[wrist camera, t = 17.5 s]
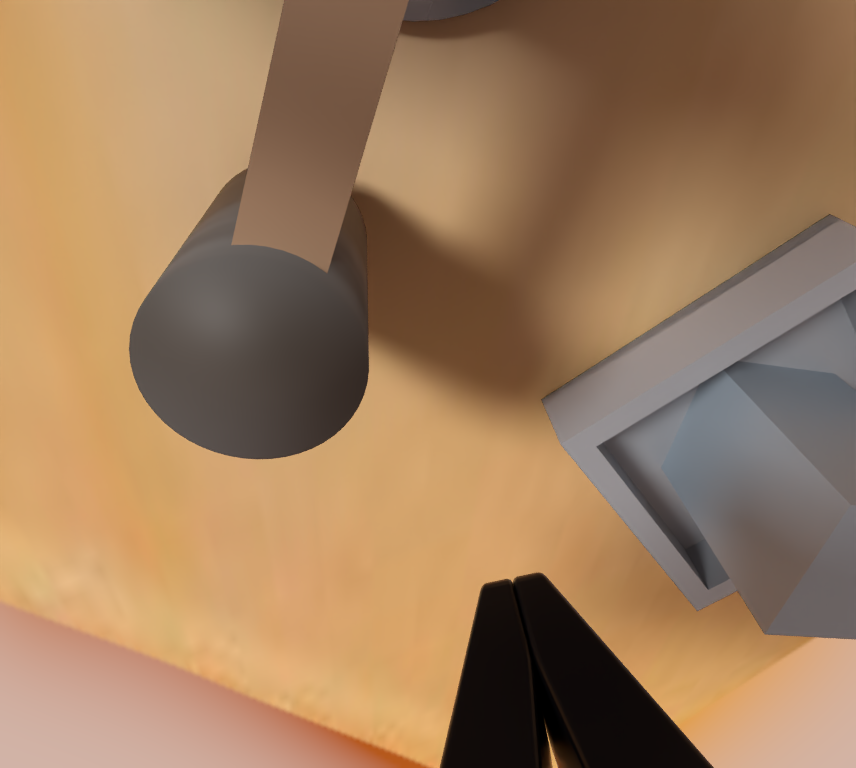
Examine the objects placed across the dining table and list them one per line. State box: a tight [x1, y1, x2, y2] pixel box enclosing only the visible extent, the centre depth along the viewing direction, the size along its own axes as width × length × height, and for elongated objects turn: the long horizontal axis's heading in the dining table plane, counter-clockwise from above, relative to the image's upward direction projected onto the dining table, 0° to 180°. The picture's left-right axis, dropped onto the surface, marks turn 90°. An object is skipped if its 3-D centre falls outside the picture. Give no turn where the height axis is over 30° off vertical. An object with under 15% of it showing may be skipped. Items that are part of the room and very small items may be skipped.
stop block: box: [661, 361, 856, 639], centre depth 19 cm, size 4×4×7 cm
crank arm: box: [129, 0, 409, 459], centre depth 12 cm, size 14×5×6 cm, turn 160°
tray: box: [542, 214, 856, 611], centre depth 22 cm, size 10×10×2 cm
